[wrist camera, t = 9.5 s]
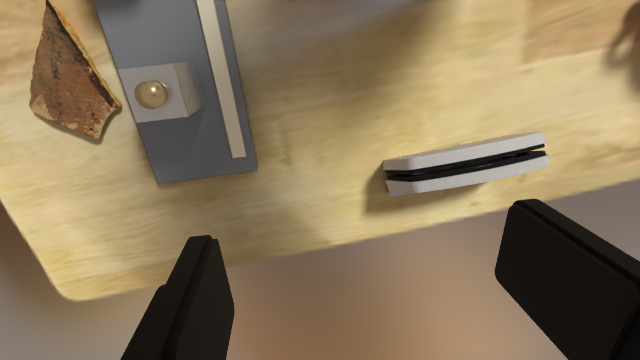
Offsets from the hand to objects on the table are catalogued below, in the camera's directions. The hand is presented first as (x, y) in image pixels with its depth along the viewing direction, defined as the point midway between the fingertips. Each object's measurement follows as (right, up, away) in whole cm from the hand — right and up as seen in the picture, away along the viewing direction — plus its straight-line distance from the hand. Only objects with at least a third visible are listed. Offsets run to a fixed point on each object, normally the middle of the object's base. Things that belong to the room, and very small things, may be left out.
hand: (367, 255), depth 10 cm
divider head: (-15, +12, +20) cm, 27 cm away
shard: (-27, +12, +21) cm, 36 cm away
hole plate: (-16, +16, +20) cm, 30 cm away
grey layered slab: (+14, +6, +28) cm, 32 cm away
